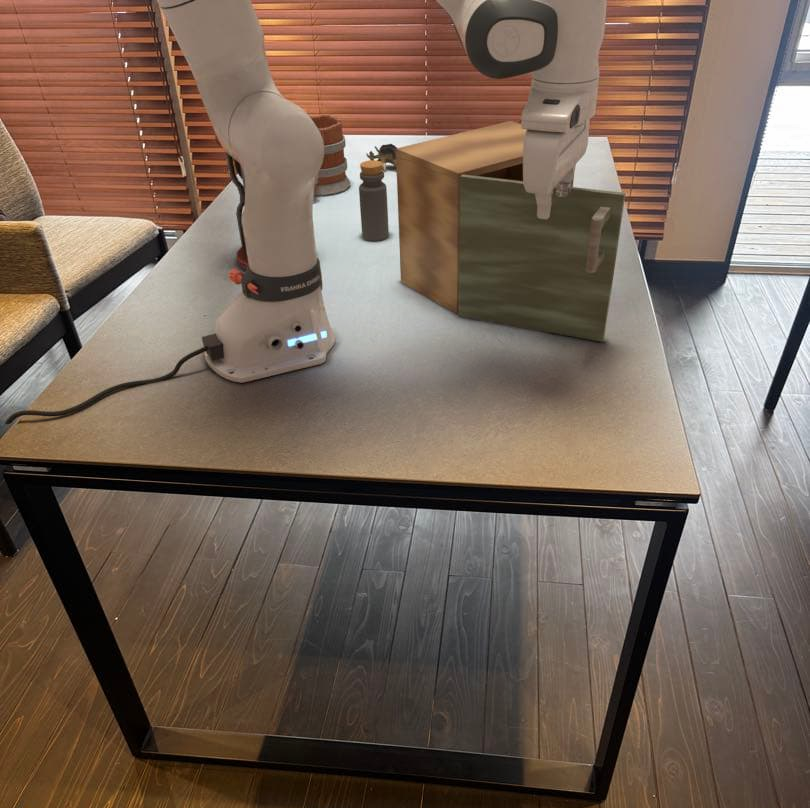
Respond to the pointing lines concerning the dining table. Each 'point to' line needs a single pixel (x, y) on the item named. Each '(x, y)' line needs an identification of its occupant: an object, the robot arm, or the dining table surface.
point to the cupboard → (446, 201)
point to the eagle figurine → (384, 155)
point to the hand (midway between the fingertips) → (553, 206)
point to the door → (537, 257)
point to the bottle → (373, 202)
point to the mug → (331, 157)
